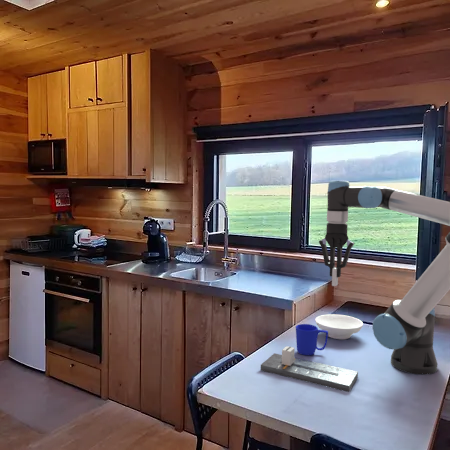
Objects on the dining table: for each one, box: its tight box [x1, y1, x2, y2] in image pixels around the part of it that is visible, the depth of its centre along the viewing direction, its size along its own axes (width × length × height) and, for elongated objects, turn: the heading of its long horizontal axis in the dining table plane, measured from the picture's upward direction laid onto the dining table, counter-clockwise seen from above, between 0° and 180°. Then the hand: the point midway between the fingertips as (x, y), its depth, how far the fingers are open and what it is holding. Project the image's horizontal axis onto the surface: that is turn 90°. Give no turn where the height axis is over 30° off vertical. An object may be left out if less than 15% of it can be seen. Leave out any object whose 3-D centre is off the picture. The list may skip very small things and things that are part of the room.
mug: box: [295, 323, 329, 356], centre depth 162 cm, size 8×12×10 cm
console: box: [260, 353, 359, 393], centre depth 144 cm, size 30×12×2 cm, turn 60°
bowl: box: [315, 313, 364, 340], centre depth 181 cm, size 20×20×7 cm
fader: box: [281, 345, 296, 366], centre depth 147 cm, size 3×4×5 cm
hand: (334, 285), depth 160 cm, fingers closed
